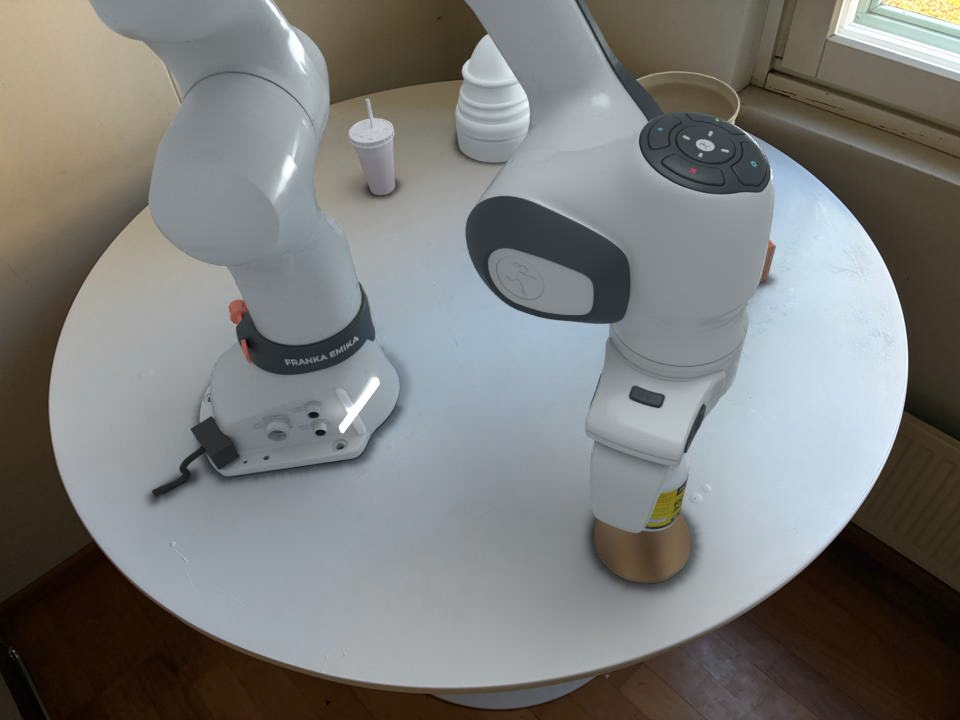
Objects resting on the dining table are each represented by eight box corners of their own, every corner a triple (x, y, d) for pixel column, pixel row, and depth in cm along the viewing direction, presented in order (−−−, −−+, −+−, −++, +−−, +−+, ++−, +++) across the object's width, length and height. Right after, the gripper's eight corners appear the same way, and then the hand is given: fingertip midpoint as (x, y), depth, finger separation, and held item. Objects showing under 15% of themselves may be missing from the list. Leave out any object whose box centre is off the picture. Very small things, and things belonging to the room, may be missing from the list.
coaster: (618, 597, 69) (618, 594, 68) (579, 514, 75) (579, 511, 74) (708, 565, 70) (709, 562, 70) (662, 486, 76) (663, 483, 76)
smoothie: (412, 181, 114) (397, 95, 104) (386, 205, 111) (368, 118, 100) (378, 170, 117) (361, 85, 106) (352, 193, 113) (331, 107, 103)
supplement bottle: (679, 538, 66) (693, 475, 58) (615, 529, 67) (622, 466, 59) (681, 484, 69) (695, 418, 62) (620, 476, 70) (627, 411, 63)
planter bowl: (645, 127, 119) (651, 61, 111) (744, 156, 112) (759, 87, 104) (592, 181, 111) (594, 113, 103) (696, 216, 104) (707, 146, 96)
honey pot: (546, 119, 123) (544, 5, 109) (531, 165, 115) (528, 49, 101) (468, 114, 125) (458, 3, 112) (448, 159, 117) (434, 45, 104)
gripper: (674, 243, 59) (658, 361, 70) (574, 441, 48) (572, 547, 58) (757, 263, 57) (727, 382, 67) (672, 476, 46) (652, 580, 56)
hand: (655, 460), depth 63 cm, fingers closed on supplement bottle, 5 cm apart
